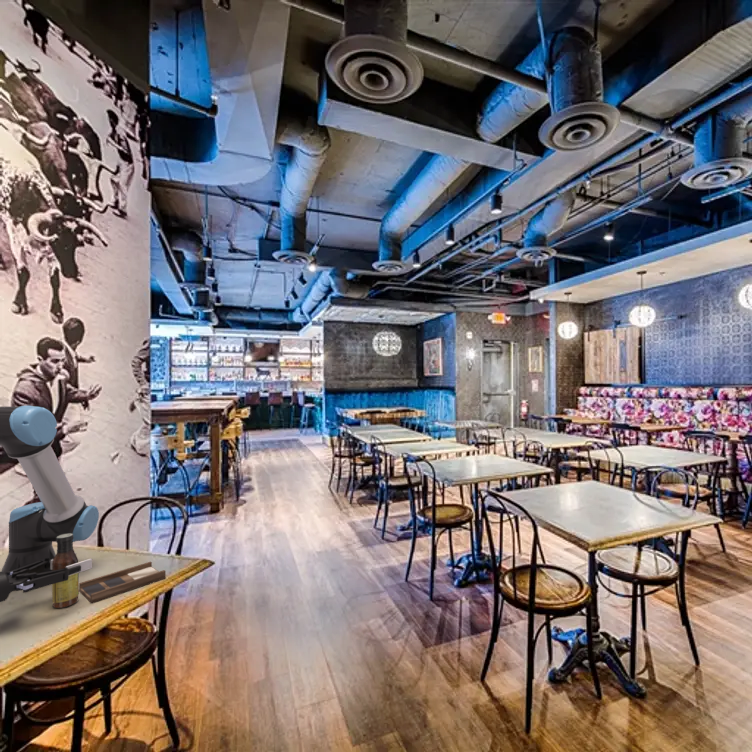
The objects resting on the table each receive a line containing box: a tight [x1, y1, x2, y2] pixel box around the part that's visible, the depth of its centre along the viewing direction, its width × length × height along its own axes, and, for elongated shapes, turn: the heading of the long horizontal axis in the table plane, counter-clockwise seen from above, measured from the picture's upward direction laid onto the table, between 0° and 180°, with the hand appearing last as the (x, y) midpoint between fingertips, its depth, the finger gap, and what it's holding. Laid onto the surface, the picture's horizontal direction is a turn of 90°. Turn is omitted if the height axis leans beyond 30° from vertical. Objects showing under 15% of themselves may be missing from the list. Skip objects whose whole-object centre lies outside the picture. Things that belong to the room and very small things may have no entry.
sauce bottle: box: [51, 533, 80, 609], centre depth 122 cm, size 7×6×20 cm
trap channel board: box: [79, 561, 166, 604], centre depth 133 cm, size 12×21×2 cm, turn 140°
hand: (83, 560), depth 126 cm, fingers open, 9 cm apart
